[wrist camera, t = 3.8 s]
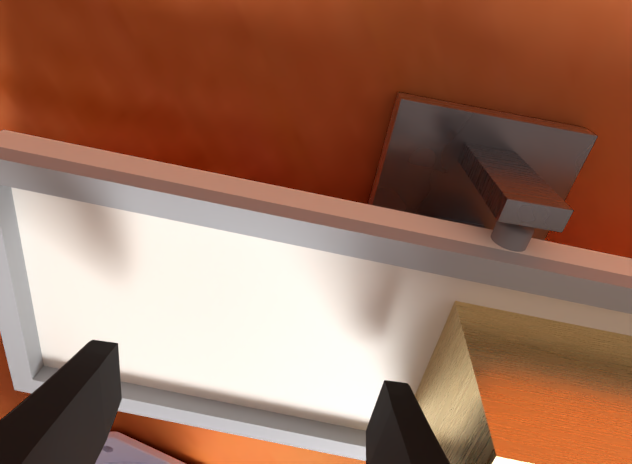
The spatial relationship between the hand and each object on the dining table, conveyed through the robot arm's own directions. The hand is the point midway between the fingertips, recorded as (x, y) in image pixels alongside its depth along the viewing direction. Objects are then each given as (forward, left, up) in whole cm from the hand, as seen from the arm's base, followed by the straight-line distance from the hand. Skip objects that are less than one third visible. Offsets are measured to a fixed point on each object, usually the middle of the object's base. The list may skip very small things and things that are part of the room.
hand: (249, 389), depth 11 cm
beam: (+3, -5, -2) cm, 6 cm away
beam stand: (+3, -5, -6) cm, 9 cm away
